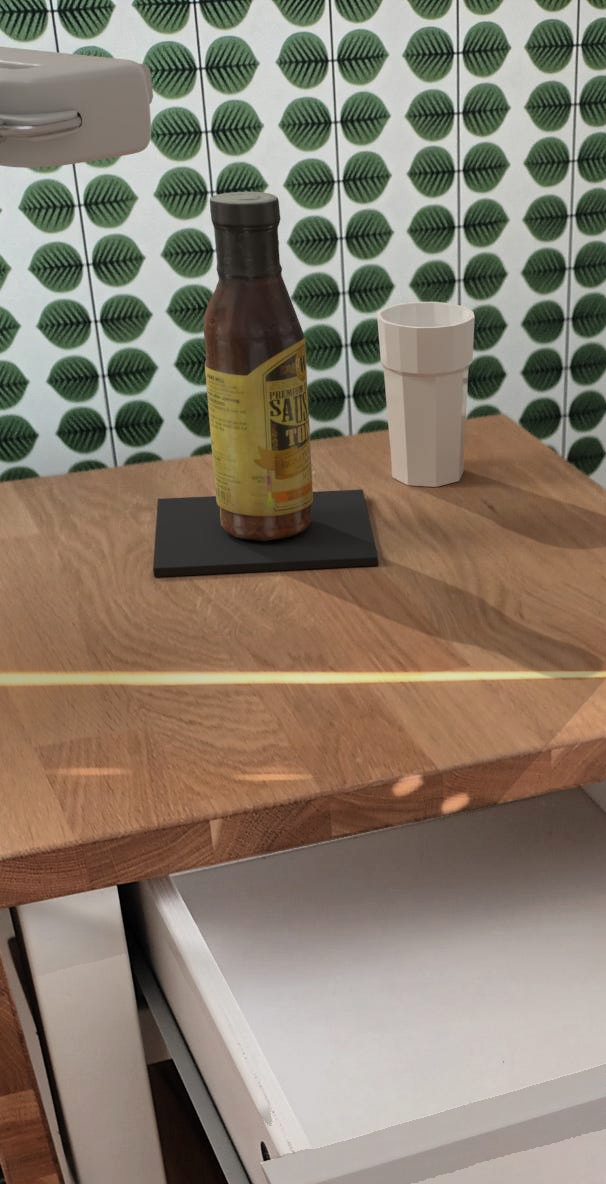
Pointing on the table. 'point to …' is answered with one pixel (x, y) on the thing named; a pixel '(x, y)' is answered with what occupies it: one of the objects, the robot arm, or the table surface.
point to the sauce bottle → (256, 377)
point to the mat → (204, 547)
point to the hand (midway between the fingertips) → (69, 74)
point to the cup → (426, 388)
